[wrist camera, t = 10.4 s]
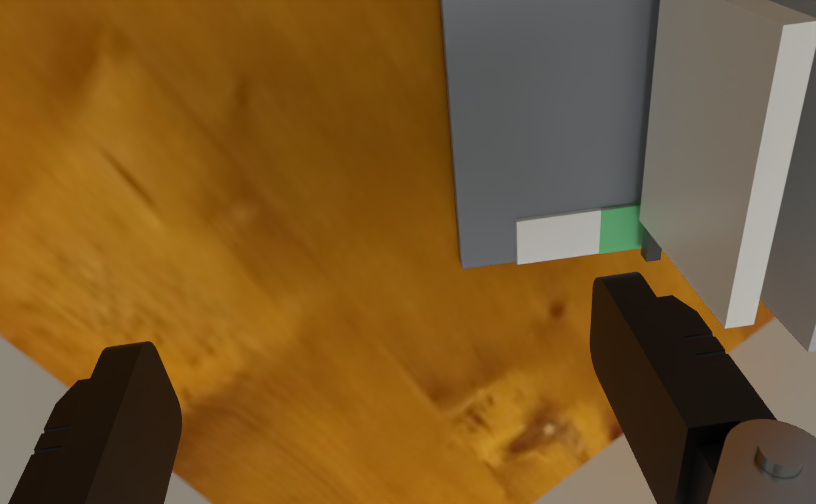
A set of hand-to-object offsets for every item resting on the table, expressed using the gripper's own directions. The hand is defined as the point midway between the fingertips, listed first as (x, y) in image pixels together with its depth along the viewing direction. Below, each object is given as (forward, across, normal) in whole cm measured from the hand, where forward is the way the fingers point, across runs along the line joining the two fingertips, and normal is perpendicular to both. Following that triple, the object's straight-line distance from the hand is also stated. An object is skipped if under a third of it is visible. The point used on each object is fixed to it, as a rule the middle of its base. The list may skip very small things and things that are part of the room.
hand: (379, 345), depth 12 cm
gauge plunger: (+10, -9, +1) cm, 14 cm away
